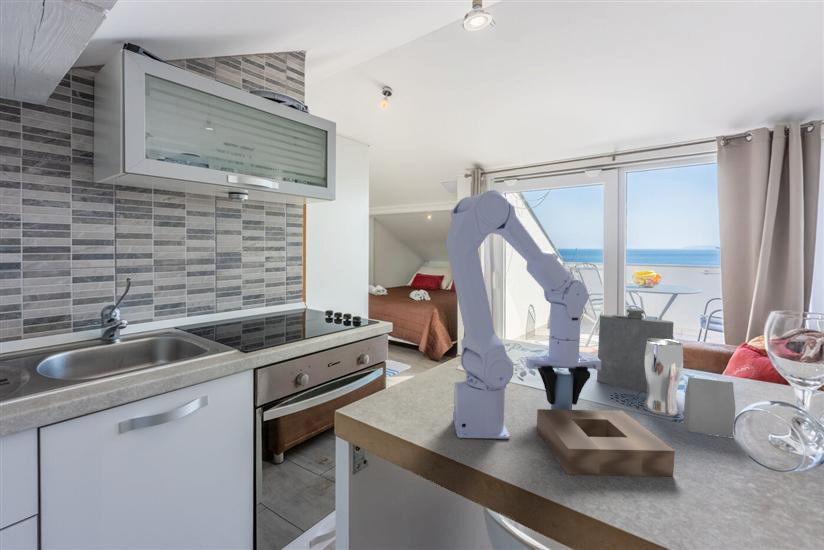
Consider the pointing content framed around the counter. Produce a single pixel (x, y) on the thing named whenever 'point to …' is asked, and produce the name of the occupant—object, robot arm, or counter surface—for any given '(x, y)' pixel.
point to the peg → (563, 391)
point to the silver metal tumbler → (662, 375)
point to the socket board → (603, 443)
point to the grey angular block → (709, 407)
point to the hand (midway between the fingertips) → (561, 402)
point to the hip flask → (627, 347)
